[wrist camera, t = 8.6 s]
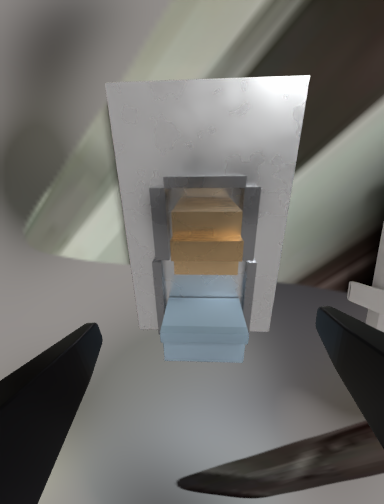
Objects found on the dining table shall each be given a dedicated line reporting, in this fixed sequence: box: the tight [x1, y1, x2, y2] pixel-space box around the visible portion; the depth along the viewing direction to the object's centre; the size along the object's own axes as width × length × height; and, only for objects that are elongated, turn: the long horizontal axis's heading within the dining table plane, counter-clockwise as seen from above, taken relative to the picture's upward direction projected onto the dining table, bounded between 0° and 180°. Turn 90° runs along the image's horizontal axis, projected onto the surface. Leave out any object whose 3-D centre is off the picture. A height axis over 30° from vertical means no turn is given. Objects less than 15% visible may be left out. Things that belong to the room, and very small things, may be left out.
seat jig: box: [105, 75, 310, 334], centre depth 18 cm, size 14×22×3 cm, turn 1°
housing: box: [160, 298, 249, 363], centre depth 19 cm, size 7×4×5 cm, turn 91°
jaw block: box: [170, 197, 244, 275], centre depth 15 cm, size 4×4×7 cm
